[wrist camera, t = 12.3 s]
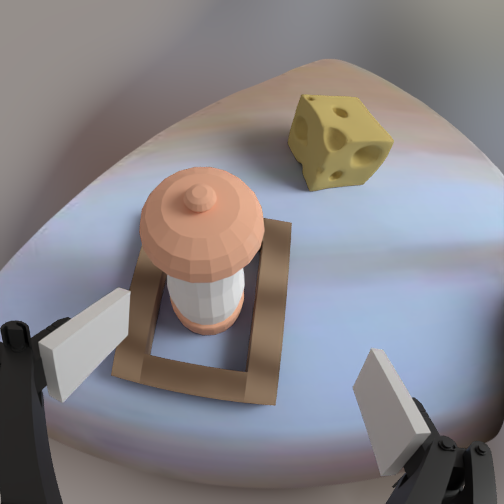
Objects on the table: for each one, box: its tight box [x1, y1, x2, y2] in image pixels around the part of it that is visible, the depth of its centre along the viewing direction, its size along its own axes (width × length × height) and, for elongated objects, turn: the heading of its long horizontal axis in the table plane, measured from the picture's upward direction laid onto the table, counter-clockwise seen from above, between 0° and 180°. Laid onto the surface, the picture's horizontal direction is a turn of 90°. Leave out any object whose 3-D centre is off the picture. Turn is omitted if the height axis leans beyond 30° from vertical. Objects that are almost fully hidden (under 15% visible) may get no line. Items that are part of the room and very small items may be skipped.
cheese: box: [288, 94, 394, 191], centre depth 37 cm, size 10×11×10 cm
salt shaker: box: [139, 167, 265, 335], centre depth 22 cm, size 7×7×19 cm
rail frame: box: [111, 218, 292, 405], centre depth 29 cm, size 20×16×2 cm
